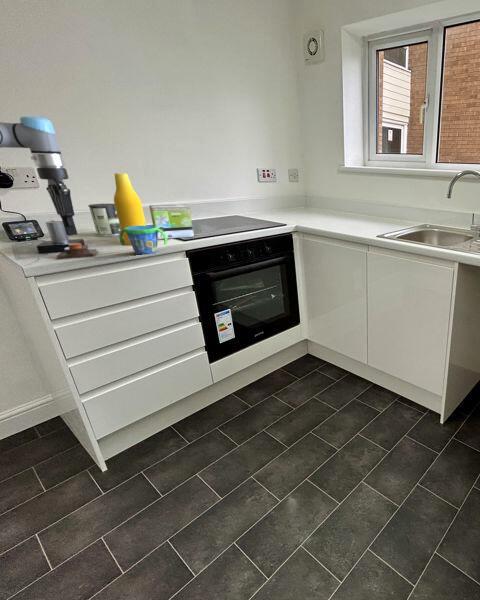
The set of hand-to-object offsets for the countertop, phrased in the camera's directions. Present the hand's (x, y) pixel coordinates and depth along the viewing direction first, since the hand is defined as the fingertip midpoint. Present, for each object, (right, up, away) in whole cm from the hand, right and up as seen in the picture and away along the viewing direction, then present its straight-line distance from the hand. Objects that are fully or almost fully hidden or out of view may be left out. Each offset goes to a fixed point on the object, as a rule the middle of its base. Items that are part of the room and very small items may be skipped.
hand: (72, 234), depth 130 cm
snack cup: (+21, -6, +9) cm, 24 cm away
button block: (0, -7, +3) cm, 8 cm away
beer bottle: (+6, +1, +25) cm, 25 cm away
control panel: (-13, -4, +10) cm, 17 cm away
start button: (0, -5, +2) cm, 5 cm away
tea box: (+13, +6, +39) cm, 42 cm away
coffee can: (-18, +7, +39) cm, 44 cm away
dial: (-13, -1, +9) cm, 16 cm away
